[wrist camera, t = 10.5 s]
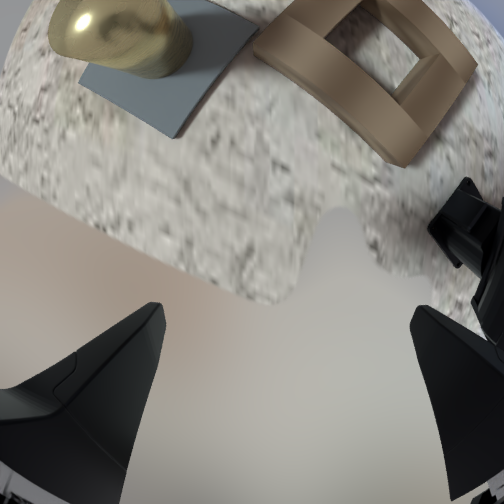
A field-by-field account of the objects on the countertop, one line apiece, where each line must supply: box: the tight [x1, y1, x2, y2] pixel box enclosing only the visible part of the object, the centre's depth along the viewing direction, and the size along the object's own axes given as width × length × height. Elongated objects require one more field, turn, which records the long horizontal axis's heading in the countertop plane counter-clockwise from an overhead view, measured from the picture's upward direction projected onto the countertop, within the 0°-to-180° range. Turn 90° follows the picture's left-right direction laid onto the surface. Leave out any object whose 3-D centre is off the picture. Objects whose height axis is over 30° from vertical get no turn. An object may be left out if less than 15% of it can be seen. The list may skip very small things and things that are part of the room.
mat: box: [78, 0, 259, 139], centre depth 14 cm, size 10×10×1 cm
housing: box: [253, 0, 478, 169], centre depth 13 cm, size 12×12×3 cm
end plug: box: [48, 0, 193, 79], centre depth 10 cm, size 5×5×9 cm
